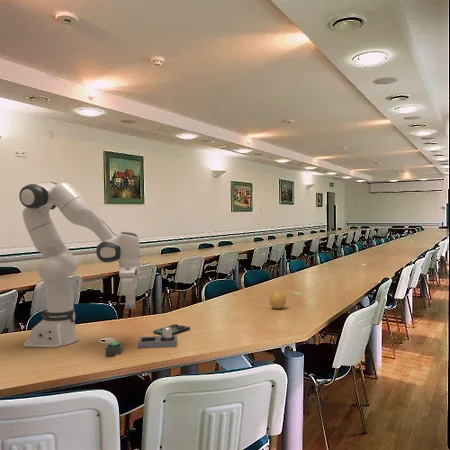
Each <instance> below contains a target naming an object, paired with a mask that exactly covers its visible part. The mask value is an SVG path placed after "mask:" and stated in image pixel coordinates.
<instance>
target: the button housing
mask: <svg viewBox="0 0 450 450" xmlns="http://www.w3.org/2000/svg"><path fill="white" fill-rule="evenodd" d="M123 350H124V342H119V345H118V346H115V347H112V346H110V342H109V343H107V345H106V347H105V357H106V358H107V357H108V358H110V357H116V355H122V353H123Z"/></svg>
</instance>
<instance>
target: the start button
mask: <svg viewBox="0 0 450 450" xmlns="http://www.w3.org/2000/svg"><path fill="white" fill-rule="evenodd" d="M109 343H110V346H112V347H115V346H118V345H119V343H120V341H118V340H112V341H110V342H109Z"/></svg>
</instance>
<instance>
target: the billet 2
mask: <svg viewBox="0 0 450 450" xmlns="http://www.w3.org/2000/svg"><path fill="white" fill-rule="evenodd" d="M169 326H170V325H167V326H163V327H162V328H163V341H172V327H169Z"/></svg>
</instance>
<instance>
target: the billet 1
mask: <svg viewBox="0 0 450 450" xmlns="http://www.w3.org/2000/svg"><path fill="white" fill-rule="evenodd" d="M125 309H126V310H135V309H136V291H135V290H134V292H133V293H132V303H131V304H128V303H127V297H126V296H125Z"/></svg>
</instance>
